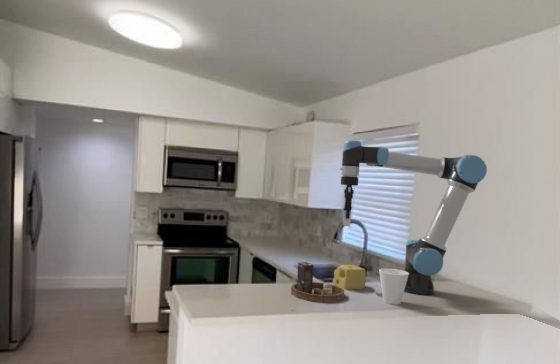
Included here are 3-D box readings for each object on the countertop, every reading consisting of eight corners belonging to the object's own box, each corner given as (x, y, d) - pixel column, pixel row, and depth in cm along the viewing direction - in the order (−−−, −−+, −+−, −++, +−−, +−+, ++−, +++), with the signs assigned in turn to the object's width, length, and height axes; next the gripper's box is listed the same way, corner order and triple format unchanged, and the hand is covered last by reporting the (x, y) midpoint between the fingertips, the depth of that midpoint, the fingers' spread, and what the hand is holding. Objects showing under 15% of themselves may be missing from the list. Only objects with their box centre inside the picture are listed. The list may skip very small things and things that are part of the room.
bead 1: (331, 292, 178) (332, 283, 178) (331, 294, 174) (332, 285, 174) (323, 291, 178) (323, 283, 178) (322, 293, 175) (323, 285, 175)
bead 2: (331, 297, 170) (332, 288, 170) (331, 299, 166) (332, 290, 166) (322, 296, 170) (323, 287, 170) (322, 298, 167) (322, 289, 167)
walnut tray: (343, 293, 182) (343, 285, 182) (343, 307, 161) (344, 298, 161) (294, 288, 185) (294, 280, 185) (288, 301, 164) (289, 292, 164)
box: (295, 291, 175) (297, 262, 175) (305, 290, 177) (307, 261, 177) (302, 295, 170) (304, 265, 170) (312, 294, 172) (314, 264, 172)
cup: (388, 307, 166) (390, 275, 166) (371, 298, 177) (373, 268, 177) (413, 305, 170) (415, 274, 170) (394, 297, 181) (396, 268, 181)
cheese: (332, 286, 193) (333, 264, 193) (352, 285, 198) (353, 264, 198) (345, 292, 184) (346, 269, 184) (365, 291, 188) (367, 268, 188)
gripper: (341, 176, 200) (337, 221, 200) (341, 175, 175) (337, 226, 175) (357, 177, 199) (354, 222, 199) (360, 176, 174) (356, 228, 174)
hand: (346, 224), depth 187 cm, fingers open, 13 cm apart
